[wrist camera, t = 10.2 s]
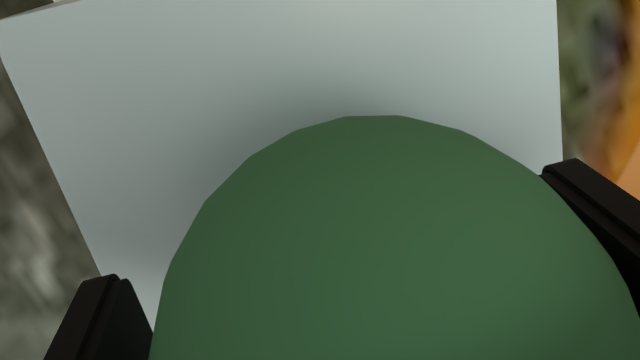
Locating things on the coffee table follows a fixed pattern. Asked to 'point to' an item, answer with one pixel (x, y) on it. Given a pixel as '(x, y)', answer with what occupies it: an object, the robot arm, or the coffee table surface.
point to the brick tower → (257, 96)
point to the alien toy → (390, 257)
